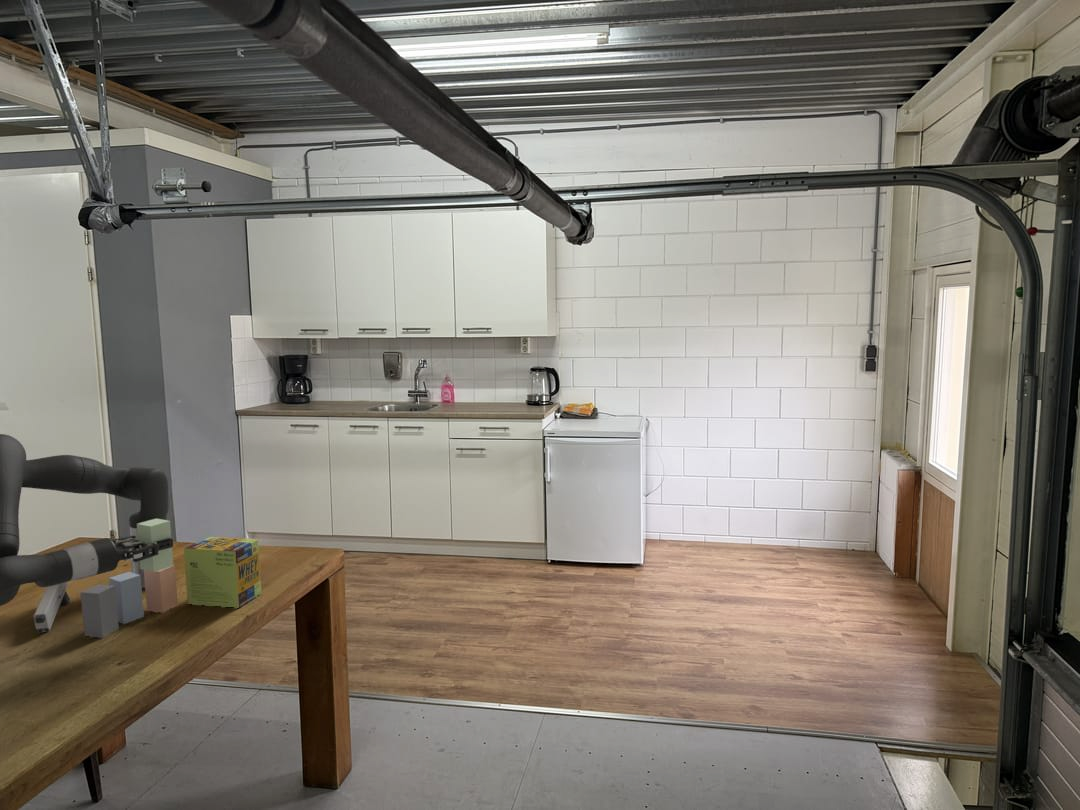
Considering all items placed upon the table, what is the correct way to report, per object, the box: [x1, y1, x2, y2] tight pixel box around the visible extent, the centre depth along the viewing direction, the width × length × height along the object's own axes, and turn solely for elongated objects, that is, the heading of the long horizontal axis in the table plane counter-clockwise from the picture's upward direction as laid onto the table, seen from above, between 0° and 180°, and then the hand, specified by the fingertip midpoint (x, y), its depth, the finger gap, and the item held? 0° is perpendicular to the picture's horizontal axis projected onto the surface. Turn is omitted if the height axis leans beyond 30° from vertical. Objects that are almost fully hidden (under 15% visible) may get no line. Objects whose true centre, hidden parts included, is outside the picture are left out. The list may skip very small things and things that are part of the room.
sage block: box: [137, 518, 174, 572], centre depth 170 cm, size 5×5×11 cm
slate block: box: [108, 571, 145, 625], centre depth 179 cm, size 5×5×11 cm
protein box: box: [183, 536, 262, 609], centre depth 190 cm, size 10×15×16 cm
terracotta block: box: [144, 564, 179, 614], centre depth 185 cm, size 5×5×11 cm
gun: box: [33, 581, 71, 634], centre depth 181 cm, size 2×25×10 cm, turn 21°
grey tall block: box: [79, 584, 120, 639], centre depth 171 cm, size 5×5×11 cm
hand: (165, 539), depth 172 cm, fingers closed on sage block, 5 cm apart
